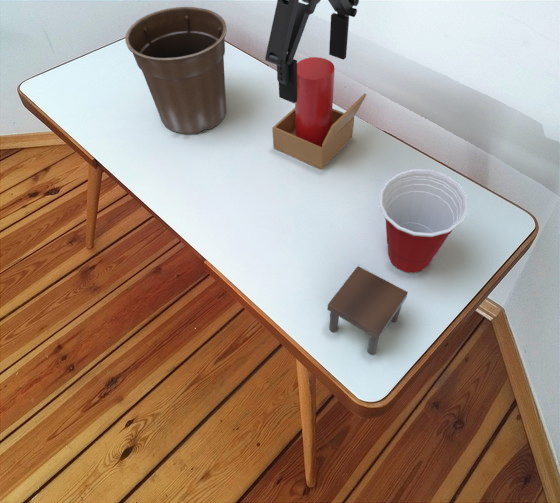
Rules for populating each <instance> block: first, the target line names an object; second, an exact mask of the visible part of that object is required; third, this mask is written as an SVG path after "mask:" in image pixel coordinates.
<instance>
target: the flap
mask: <svg viewBox="0 0 560 503" xmlns="http://www.w3.org/2000/svg"><path fill="white" fill-rule="evenodd" d="M366 97H367V93H365V92H364V93H363V94H362V95H361V96H360V97H359V98H358V99H357V100H356V101H355V102H354V103H353V104H352V105H351V106H350V107H349V108H348V109H347V110H346V111H345V112H343V113H344V114H343V115H342V116H341V117H340V118H339V119H338V120H337V121H336V122H335V123H334V124H333V125H332V126H331V128H330V130H329V132H328V134H327V136H326V138H325V140H324V142H323V144H322V146H325V145H326V144H327V143H328V142H329V141H330V140H331V139H332V138H333V137H334V136H335V135H336V134H337V133H338V132H339V131H340V130H341V129H342V128H343V127H344V126H345V125H346V124H347V123H348V122H349V121H350V120H351V119H352V118H353V117H354V118H355V116H356V114H357V113H358V111H359V109H360V108H361V106H362V104H363V102H364V101H365V99H366Z"/></svg>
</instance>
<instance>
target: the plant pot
mask: <svg viewBox="0 0 560 503" xmlns="http://www.w3.org/2000/svg"><path fill="white" fill-rule="evenodd" d="M227 29H228V27H227V23H226V20H225V19H224V18H223V16H221V15H220V14H218V13H217V12H215V11H213V10H210V9H207V8H203V7H197V6H196V7H195V6H177V7H169V8H165V9H160V10H157V11H154V12H151V13H148V14H147V15H145V16H142V17H141V18H138V20H136V21H134V23H132V25H130V27H129V28H128V29H127V31H126V33H125V38H124V41H125V46H126V47H127V49H128V50H129V51H130V53H132V55H133V58H134V60H135V62H136V64H137V67H138V69H139V70H140V71H141V72H142V75H143V77H144V79H145V82H146V85H147V87H148V90H149V92H150V94H151V95H150V96H151V97H152V100H153V103H154V105H155V107H156V110H157V113H158V116H159V118H160V120H161V122H162V124H163V125H164V127H165V128H166V129H168V130H170V131H172V132H174V133H178V134H184V135H192V134H193V135H194V134H199V133H202V131H204V130H207V129H208V130H211V129H213V128H215V127H216V126H218V125H219V124H220V123H222V121H223V119H224V118H225V117H226V114H227V97H226V81H225V80H226V76H225V59H224V58H225V57H224V56H225V53H226V41H225V37H226V35H227V31H228V30H227Z"/></svg>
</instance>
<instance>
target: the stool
mask: <svg viewBox="0 0 560 503" xmlns="http://www.w3.org/2000/svg"><path fill="white" fill-rule="evenodd" d="M408 294H409V292H408V291H407V290H404V289H403V288H402V287H399V286H397V285H395V284H393V283H391V282H389V281H387V280H386V279H384V278H382V277H380V276H378V275H376V274H374V273H372V272H370V271H369V270H367V269H364V268H363V267H361V266H359V265H357V266H356V268H355V269H354V270H353V272H352V273H351V274H350V275H349V277H347V279H346V280H345V282H344V283H343V284H342V285H341V287H340V288H339V289H338V290H337V292H336V293H335V294H334V295H333V297H332V298H331V300H330V301H329V303H327V311H329V312H330V313H329V325H328V329H329V331H330V332H331V333H336V332H337V331H338V330H339V320H340V318H341V319H343V320H345V321H346V322H348V323H350V324H351V325H353V326H355V327H357V328H358V329H360V330H362V331H364V332H365V333H367V334H368V335H369V340H368V345H367V348H366V350H367V354H368V355H370V356H374V355H376V354H377V350H378V346H379V343H380V337H381V336H382V335H383V333H384V332H385V330H386V329H387V327H388V325H389V324H390V323H394V324H395V323H397V322H398V320H399V317H400V313H401V310H402V306H403V304H404V302H405V300H406V299H407V297H408Z"/></svg>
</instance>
